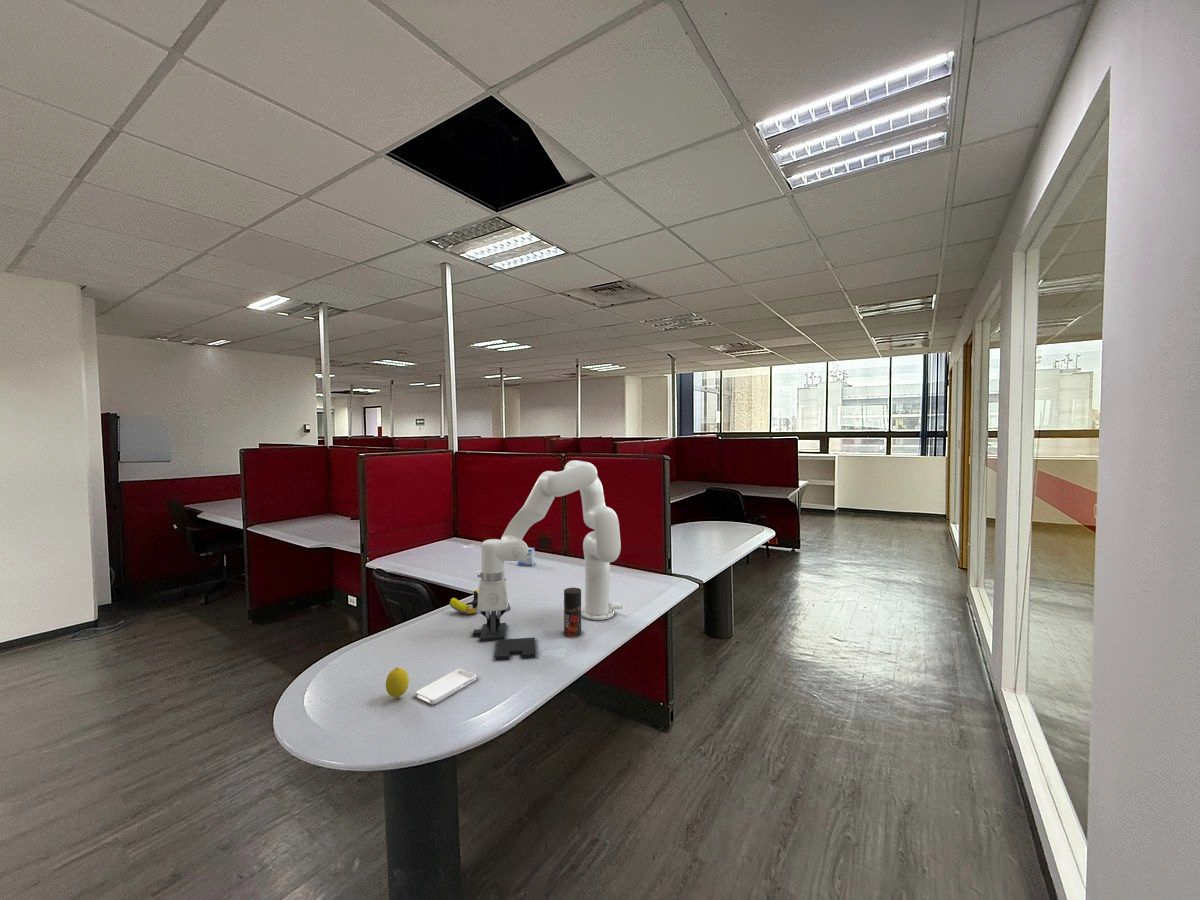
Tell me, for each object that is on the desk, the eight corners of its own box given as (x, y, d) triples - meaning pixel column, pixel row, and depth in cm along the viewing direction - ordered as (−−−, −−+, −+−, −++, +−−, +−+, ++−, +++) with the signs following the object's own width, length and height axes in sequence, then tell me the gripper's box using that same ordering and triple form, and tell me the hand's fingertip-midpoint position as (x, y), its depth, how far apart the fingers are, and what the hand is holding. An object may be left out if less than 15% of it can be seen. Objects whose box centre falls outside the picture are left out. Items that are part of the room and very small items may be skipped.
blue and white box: (517, 565, 249) (517, 548, 248) (520, 563, 253) (520, 546, 253) (532, 566, 247) (532, 549, 247) (534, 563, 252) (534, 547, 251)
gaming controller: (447, 612, 183) (464, 618, 178) (447, 598, 183) (464, 603, 177) (477, 601, 196) (494, 606, 190) (477, 588, 196) (494, 592, 190)
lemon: (390, 692, 127) (389, 663, 127) (411, 691, 128) (411, 662, 127) (382, 704, 122) (382, 673, 121) (405, 703, 122) (404, 672, 122)
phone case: (459, 672, 138) (414, 697, 125) (459, 667, 138) (414, 691, 125) (477, 679, 134) (433, 705, 121) (477, 674, 134) (433, 700, 121)
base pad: (534, 640, 159) (534, 637, 159) (535, 657, 147) (535, 653, 147) (498, 643, 157) (498, 639, 157) (495, 660, 145) (495, 656, 145)
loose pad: (475, 627, 169) (475, 607, 169) (506, 625, 171) (505, 605, 171) (471, 642, 158) (471, 620, 157) (504, 640, 159) (504, 618, 159)
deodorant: (583, 631, 166) (583, 588, 166) (577, 638, 161) (577, 594, 160) (568, 628, 168) (568, 586, 168) (561, 635, 163) (561, 592, 162)
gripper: (468, 580, 159) (468, 634, 160) (516, 578, 161) (516, 632, 162) (470, 573, 166) (471, 625, 167) (516, 571, 169) (516, 623, 169)
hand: (493, 628), depth 164 cm, fingers closed on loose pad
